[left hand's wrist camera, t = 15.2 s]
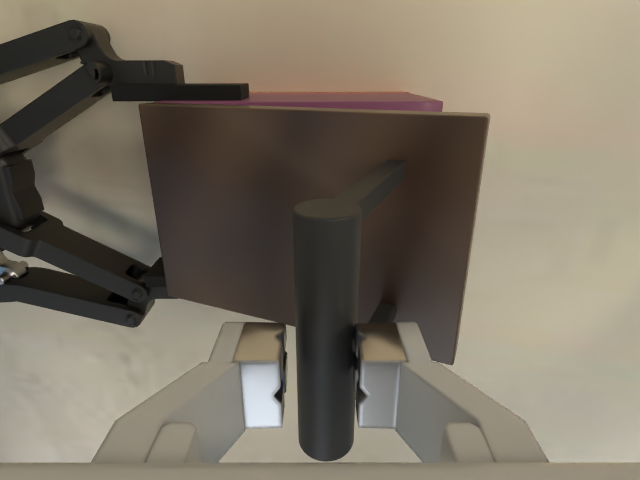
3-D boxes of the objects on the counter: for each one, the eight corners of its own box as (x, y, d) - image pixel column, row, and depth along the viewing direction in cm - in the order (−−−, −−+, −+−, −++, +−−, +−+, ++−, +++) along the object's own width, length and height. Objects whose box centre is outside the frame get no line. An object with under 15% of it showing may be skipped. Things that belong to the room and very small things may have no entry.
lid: (490, 113, 15) (465, 157, 7) (456, 349, 18) (417, 539, 11) (157, 102, 20) (-53, 121, 13) (183, 285, 24) (32, 383, 16)
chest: (406, 91, 29) (443, 101, 20) (396, 227, 33) (424, 283, 24) (201, 92, 29) (152, 101, 20) (215, 228, 33) (178, 285, 24)
